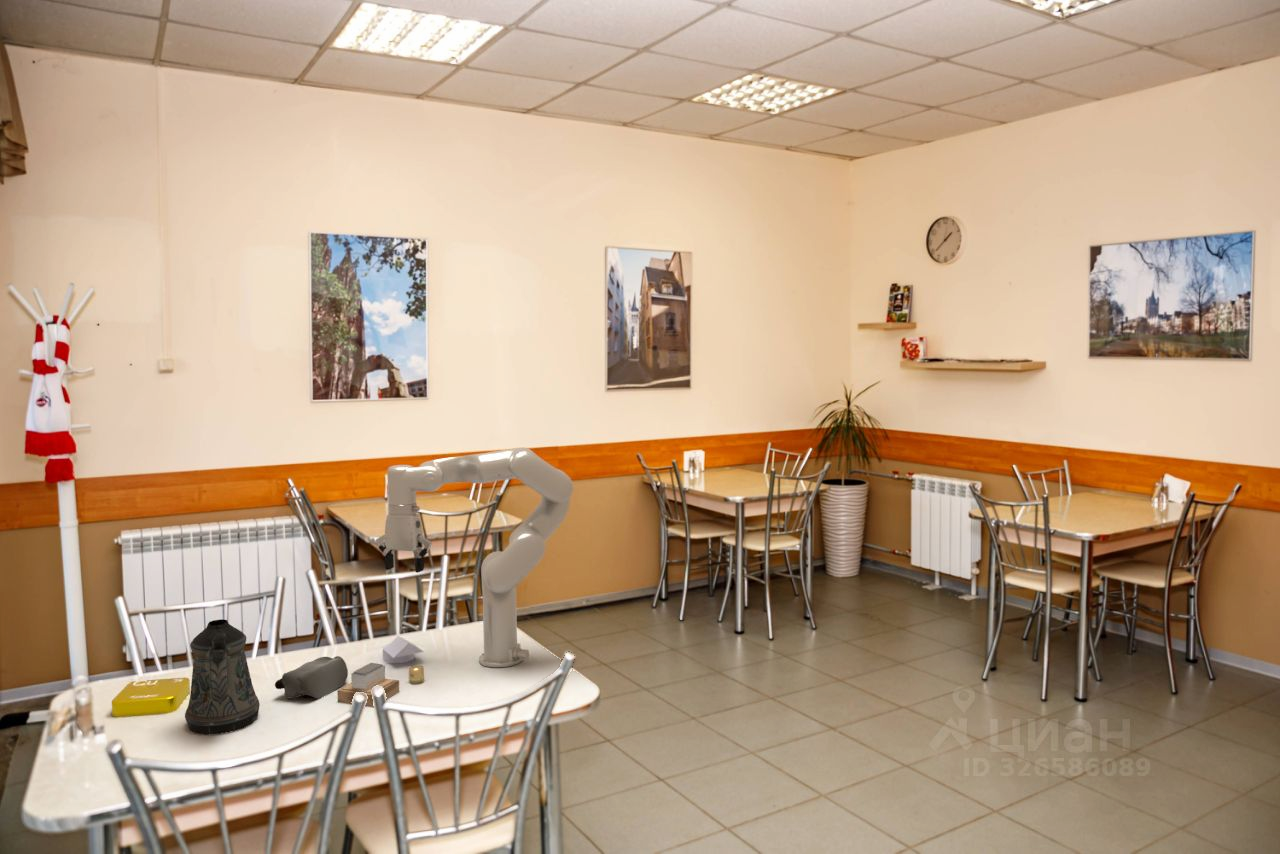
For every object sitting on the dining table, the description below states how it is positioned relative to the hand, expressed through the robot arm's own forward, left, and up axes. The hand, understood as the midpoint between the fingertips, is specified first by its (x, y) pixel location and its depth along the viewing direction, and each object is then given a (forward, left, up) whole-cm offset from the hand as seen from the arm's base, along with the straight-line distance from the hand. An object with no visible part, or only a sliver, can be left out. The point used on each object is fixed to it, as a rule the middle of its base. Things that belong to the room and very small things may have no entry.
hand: (404, 570), depth 258 cm
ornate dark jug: (+21, +46, -28) cm, 58 cm away
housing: (-2, +21, -25) cm, 33 cm away
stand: (-2, +21, -28) cm, 35 cm away
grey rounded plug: (+15, +22, -29) cm, 39 cm away
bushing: (-8, +8, -28) cm, 31 cm away
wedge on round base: (+6, -6, -29) cm, 30 cm away
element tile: (+48, +42, -29) cm, 70 cm away
